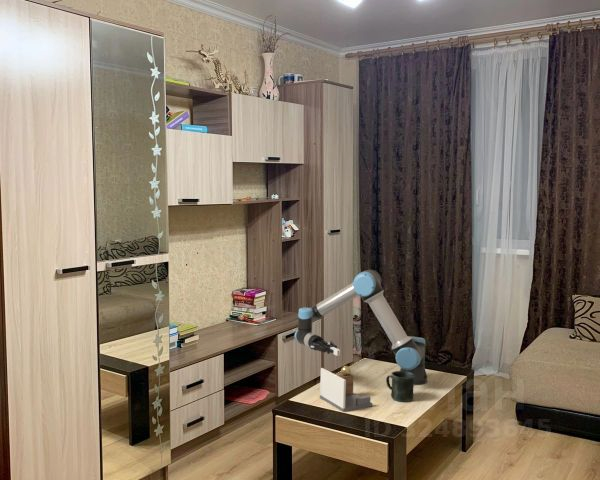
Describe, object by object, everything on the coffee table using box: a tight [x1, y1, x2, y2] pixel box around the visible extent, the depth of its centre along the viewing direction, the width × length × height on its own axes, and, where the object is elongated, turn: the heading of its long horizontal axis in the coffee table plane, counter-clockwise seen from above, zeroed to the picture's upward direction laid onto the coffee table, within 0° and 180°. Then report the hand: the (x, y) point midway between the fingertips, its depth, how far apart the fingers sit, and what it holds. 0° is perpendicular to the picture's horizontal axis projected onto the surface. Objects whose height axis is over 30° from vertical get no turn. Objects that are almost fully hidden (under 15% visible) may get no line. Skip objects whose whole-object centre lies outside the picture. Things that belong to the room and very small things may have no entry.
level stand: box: [319, 367, 373, 413], centre depth 287 cm, size 20×16×14 cm
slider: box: [336, 365, 355, 395], centre depth 293 cm, size 5×6×13 cm
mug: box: [385, 370, 415, 403], centre depth 294 cm, size 11×15×12 cm
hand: (338, 352), depth 298 cm, fingers closed
